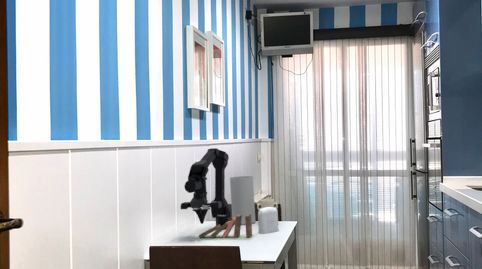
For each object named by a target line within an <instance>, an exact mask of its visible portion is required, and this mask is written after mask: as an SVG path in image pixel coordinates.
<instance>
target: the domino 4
mask: <svg viewBox="0 0 482 269" xmlns="http://www.w3.org/2000/svg"><path fill="white" fill-rule="evenodd" d="M245 223H246V225H245V234H246V238H251V237H252V234H253V225H252V223H251V214H248V215H246V216H245Z"/></svg>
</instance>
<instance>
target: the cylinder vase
mask: <svg viewBox="0 0 482 269" xmlns="http://www.w3.org/2000/svg"><path fill="white" fill-rule="evenodd" d="M229 183H230V184H229V186H230V188H229V189H230V200H231V201H230V202H231V205H230V206H231V219H232V218H234V217H236V216H237V215H238V214H239V215H242V219H241V226H246V223H245V216H246V215H248V214H251V223H252V224H255V223H256V212H255V211H256V208H255V206H256V204H255V188H254V187H255V186H254V176H252V175H246V176H244V175H243V176H241V175H240V176H232V177H230V178H229Z"/></svg>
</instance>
